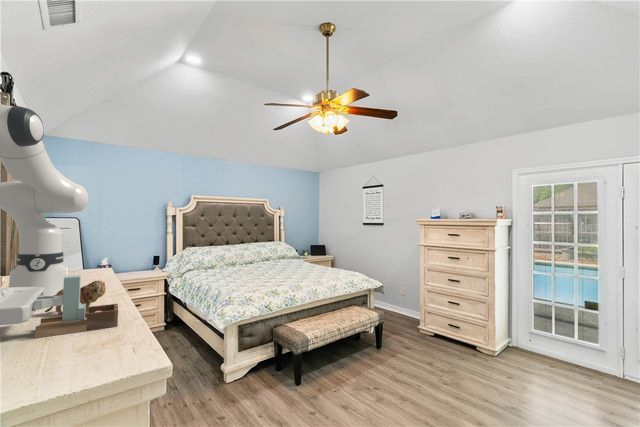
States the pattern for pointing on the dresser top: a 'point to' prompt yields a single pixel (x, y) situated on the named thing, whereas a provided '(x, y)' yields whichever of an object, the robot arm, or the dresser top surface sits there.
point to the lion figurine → (86, 294)
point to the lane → (59, 326)
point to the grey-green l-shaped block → (72, 300)
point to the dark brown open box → (102, 317)
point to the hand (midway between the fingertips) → (63, 300)
